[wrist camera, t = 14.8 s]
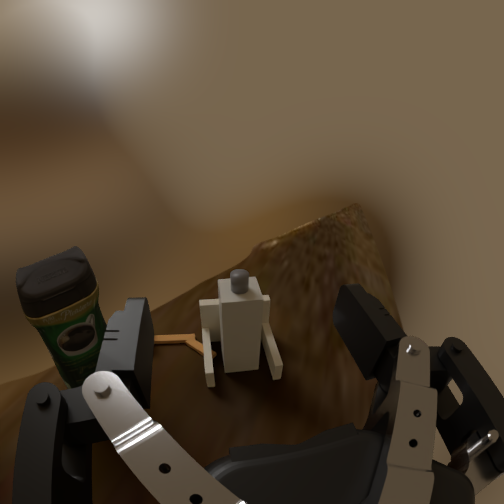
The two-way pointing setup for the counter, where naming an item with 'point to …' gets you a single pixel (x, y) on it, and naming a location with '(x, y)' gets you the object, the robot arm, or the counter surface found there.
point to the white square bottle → (240, 321)
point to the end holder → (212, 334)
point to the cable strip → (182, 341)
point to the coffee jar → (65, 312)
